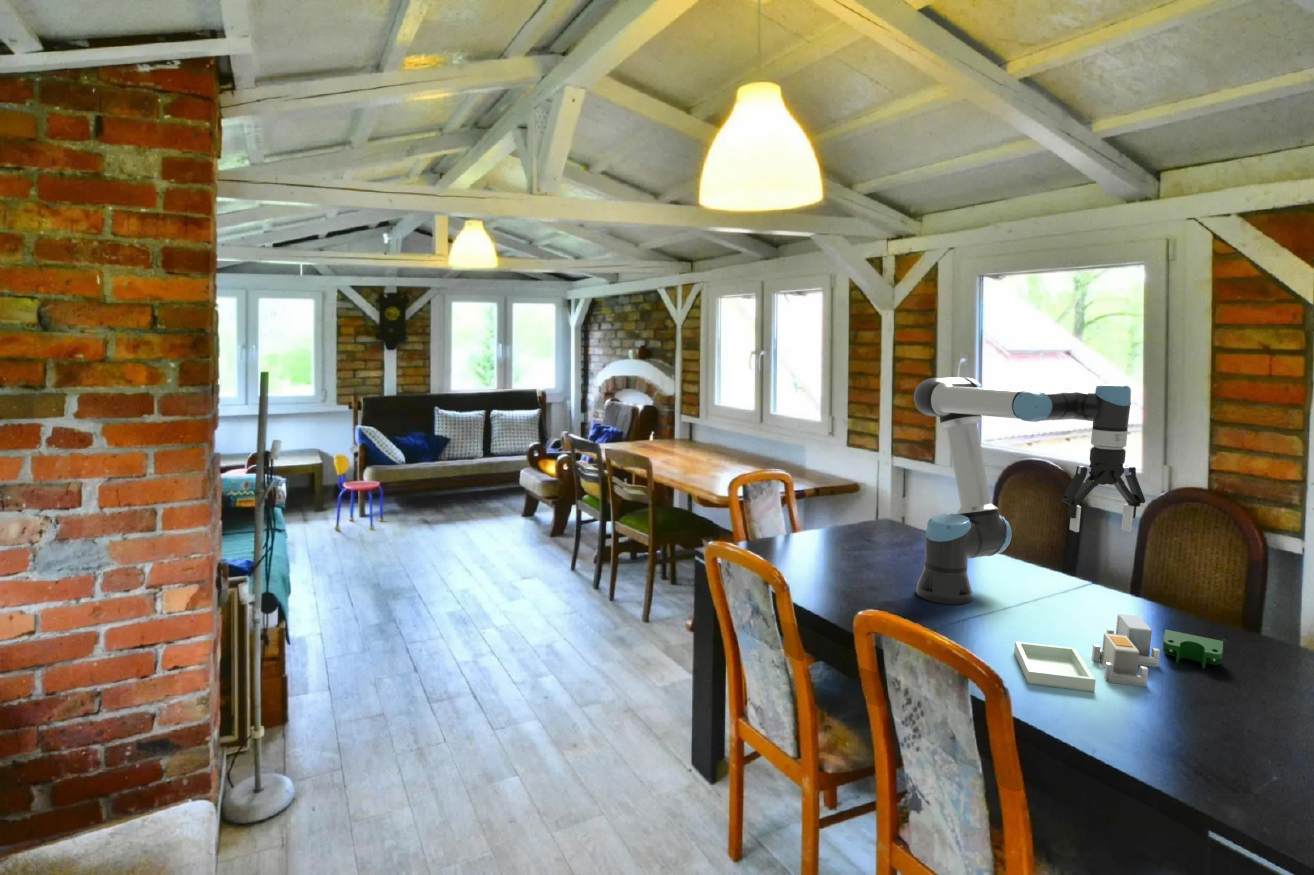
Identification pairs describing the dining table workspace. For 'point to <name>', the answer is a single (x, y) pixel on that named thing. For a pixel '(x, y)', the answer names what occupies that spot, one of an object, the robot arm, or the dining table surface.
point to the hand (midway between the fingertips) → (1100, 530)
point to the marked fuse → (1120, 654)
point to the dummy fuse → (1135, 632)
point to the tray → (1054, 666)
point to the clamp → (1193, 647)
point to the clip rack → (1128, 678)
